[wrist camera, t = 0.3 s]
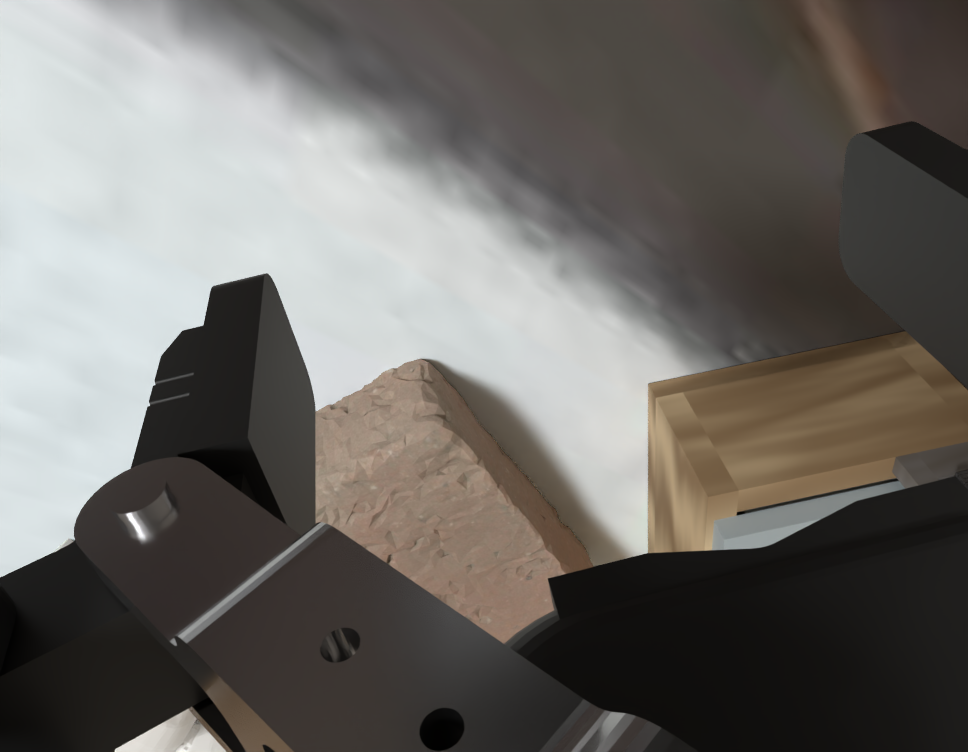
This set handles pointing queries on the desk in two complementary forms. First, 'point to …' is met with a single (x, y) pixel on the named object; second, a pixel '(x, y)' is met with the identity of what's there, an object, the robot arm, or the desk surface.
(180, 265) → the desk surface
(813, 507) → the lid
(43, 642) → the robot arm
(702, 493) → the wooden box
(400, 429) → the brick
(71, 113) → the desk surface
